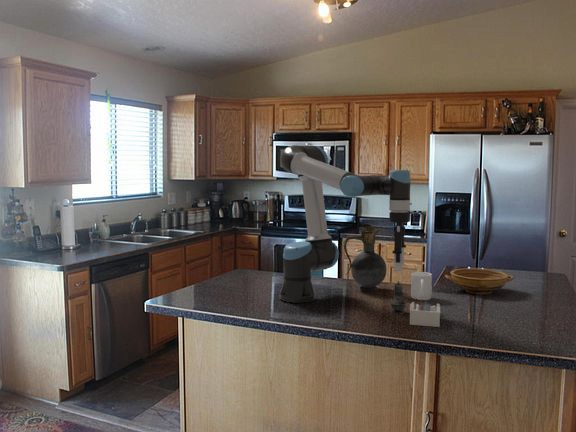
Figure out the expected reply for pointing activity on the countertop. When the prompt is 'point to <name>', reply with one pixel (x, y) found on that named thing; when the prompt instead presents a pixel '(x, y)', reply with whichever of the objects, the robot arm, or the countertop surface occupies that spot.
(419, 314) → the end holder
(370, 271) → the pitcher
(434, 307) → the clip
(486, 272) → the ceramic bowl
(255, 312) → the countertop surface
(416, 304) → the clip
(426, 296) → the mug
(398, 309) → the grey tapered rounded piece
